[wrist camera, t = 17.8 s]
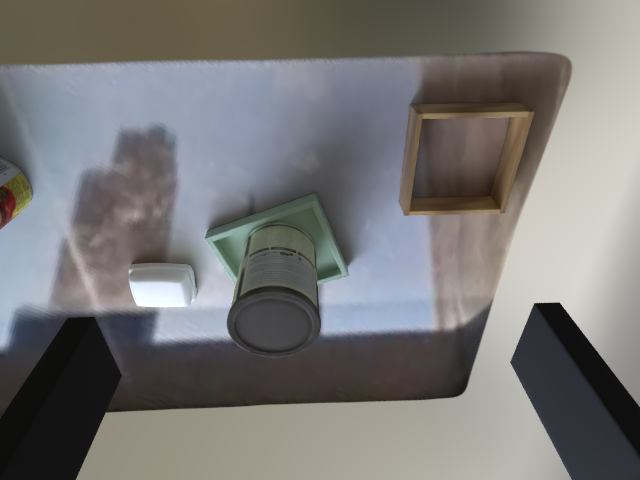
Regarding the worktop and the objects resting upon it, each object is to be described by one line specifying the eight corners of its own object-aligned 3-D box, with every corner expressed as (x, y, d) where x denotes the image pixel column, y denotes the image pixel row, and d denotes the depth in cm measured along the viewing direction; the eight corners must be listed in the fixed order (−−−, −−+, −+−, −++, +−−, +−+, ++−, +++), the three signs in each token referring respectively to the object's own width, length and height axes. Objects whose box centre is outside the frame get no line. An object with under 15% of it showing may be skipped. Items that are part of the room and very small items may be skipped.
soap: (192, 263, 56) (187, 276, 54) (198, 298, 60) (194, 312, 58) (128, 262, 56) (120, 275, 53) (138, 298, 60) (131, 311, 57)
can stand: (520, 102, 45) (535, 111, 42) (493, 199, 52) (504, 213, 49) (410, 104, 45) (417, 113, 42) (398, 202, 52) (404, 215, 49)
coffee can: (326, 269, 57) (331, 346, 46) (259, 287, 59) (248, 365, 47) (303, 211, 51) (303, 282, 40) (230, 232, 53) (210, 306, 41)
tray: (315, 192, 51) (315, 200, 49) (347, 266, 58) (348, 275, 56) (207, 230, 53) (204, 238, 52) (250, 297, 60) (249, 306, 59)
